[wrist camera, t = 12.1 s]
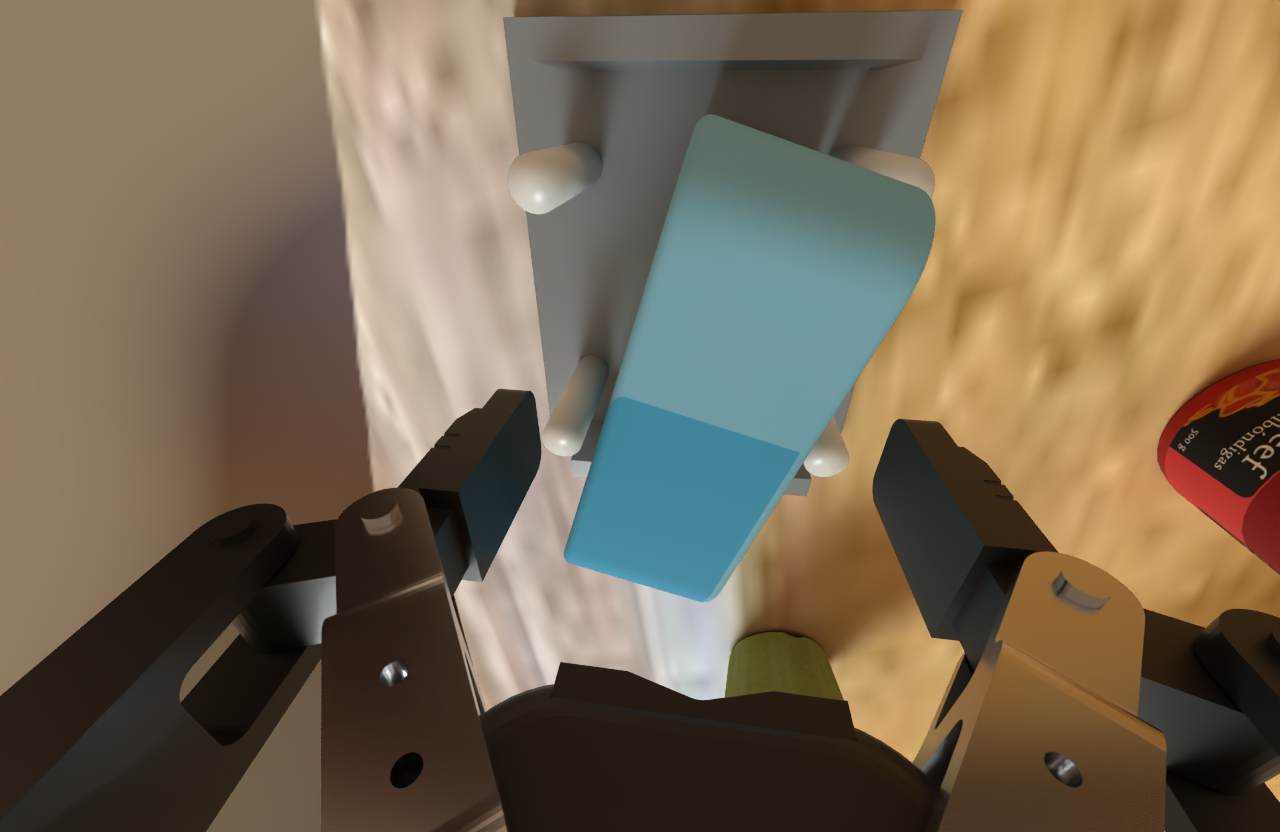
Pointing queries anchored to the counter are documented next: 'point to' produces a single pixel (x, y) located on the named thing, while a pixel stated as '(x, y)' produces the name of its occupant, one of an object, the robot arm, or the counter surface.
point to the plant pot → (780, 667)
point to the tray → (655, 151)
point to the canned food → (1232, 457)
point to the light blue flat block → (742, 350)
